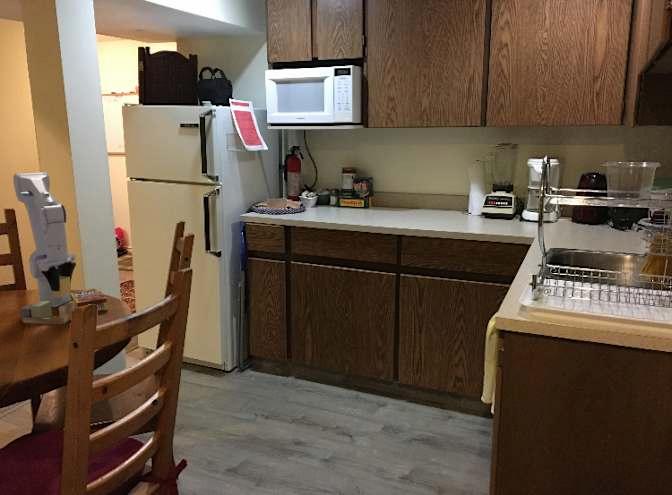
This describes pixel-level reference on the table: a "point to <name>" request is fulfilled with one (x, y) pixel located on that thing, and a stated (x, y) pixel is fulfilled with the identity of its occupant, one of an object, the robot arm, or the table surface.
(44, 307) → the olive book
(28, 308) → the bookend
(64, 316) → the tan l-frame
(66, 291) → the yellow thick square block
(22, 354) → the table surface
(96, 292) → the candy box
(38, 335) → the table surface
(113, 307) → the table surface
